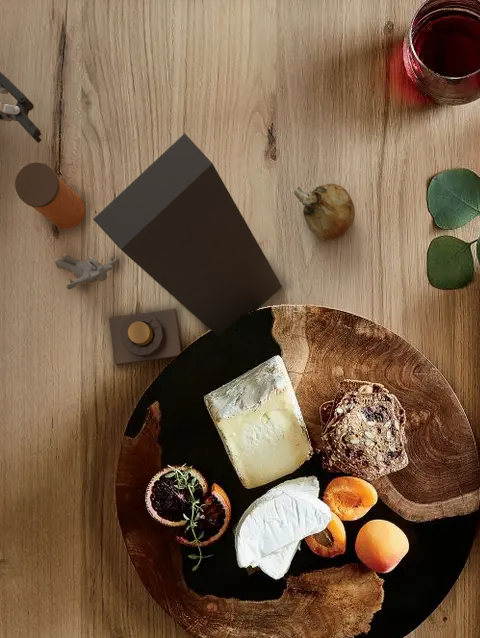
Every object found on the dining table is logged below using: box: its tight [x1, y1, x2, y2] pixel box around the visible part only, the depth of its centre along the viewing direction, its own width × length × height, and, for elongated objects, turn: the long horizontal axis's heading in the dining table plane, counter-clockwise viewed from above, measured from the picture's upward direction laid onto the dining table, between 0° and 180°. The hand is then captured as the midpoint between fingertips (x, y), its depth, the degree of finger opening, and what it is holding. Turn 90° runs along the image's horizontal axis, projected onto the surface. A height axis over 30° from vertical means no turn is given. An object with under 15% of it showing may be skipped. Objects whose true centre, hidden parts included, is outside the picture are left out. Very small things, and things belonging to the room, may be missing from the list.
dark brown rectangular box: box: [92, 133, 283, 338], centre depth 100 cm, size 16×12×44 cm
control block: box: [108, 308, 183, 366], centre depth 121 cm, size 10×7×2 cm
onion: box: [293, 183, 356, 242], centre depth 118 cm, size 8×8×8 cm
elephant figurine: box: [54, 253, 120, 291], centre depth 120 cm, size 10×6×9 cm
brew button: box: [128, 321, 153, 345], centre depth 120 cm, size 3×3×2 cm
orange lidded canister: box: [14, 161, 86, 230], centre depth 118 cm, size 6×6×10 cm
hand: (16, 159), depth 117 cm, fingers open, 8 cm apart
